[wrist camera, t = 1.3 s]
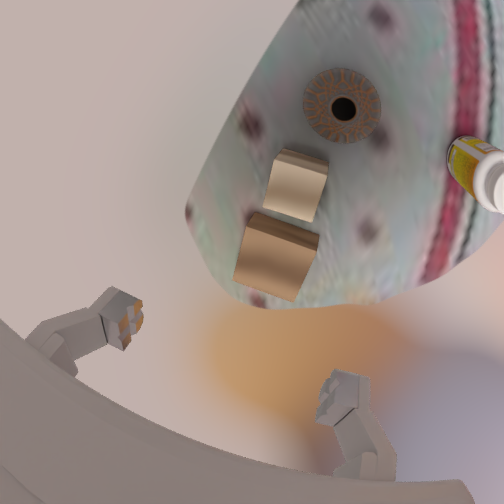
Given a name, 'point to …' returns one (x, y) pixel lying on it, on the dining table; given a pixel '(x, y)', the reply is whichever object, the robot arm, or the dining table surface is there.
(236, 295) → the dining table surface
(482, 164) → the supplement bottle
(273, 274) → the walnut block
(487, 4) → the dining table surface
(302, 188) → the maple cube
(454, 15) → the dining table surface
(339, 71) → the vase
